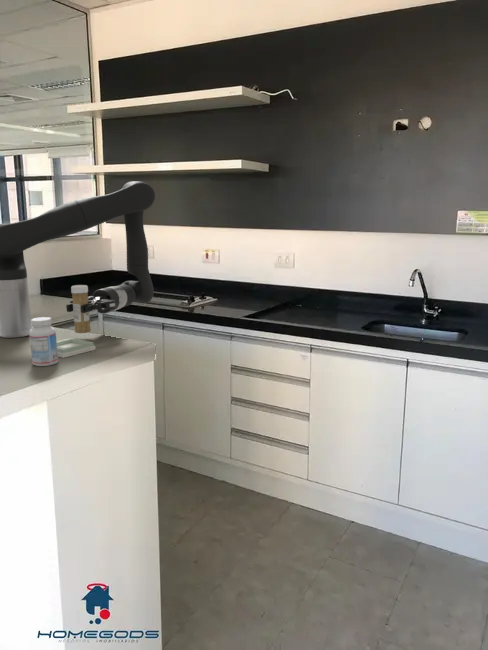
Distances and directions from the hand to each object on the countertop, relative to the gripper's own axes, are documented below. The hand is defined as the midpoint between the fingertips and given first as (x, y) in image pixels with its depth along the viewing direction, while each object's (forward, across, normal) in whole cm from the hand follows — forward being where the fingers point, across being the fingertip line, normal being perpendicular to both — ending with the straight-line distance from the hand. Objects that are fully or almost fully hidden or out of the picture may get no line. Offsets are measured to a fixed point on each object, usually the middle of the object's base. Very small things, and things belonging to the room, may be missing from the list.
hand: (75, 308), depth 154 cm
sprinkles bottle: (-3, 0, +7) cm, 8 cm away
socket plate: (+9, +4, +10) cm, 14 cm away
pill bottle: (+21, +6, +10) cm, 24 cm away
